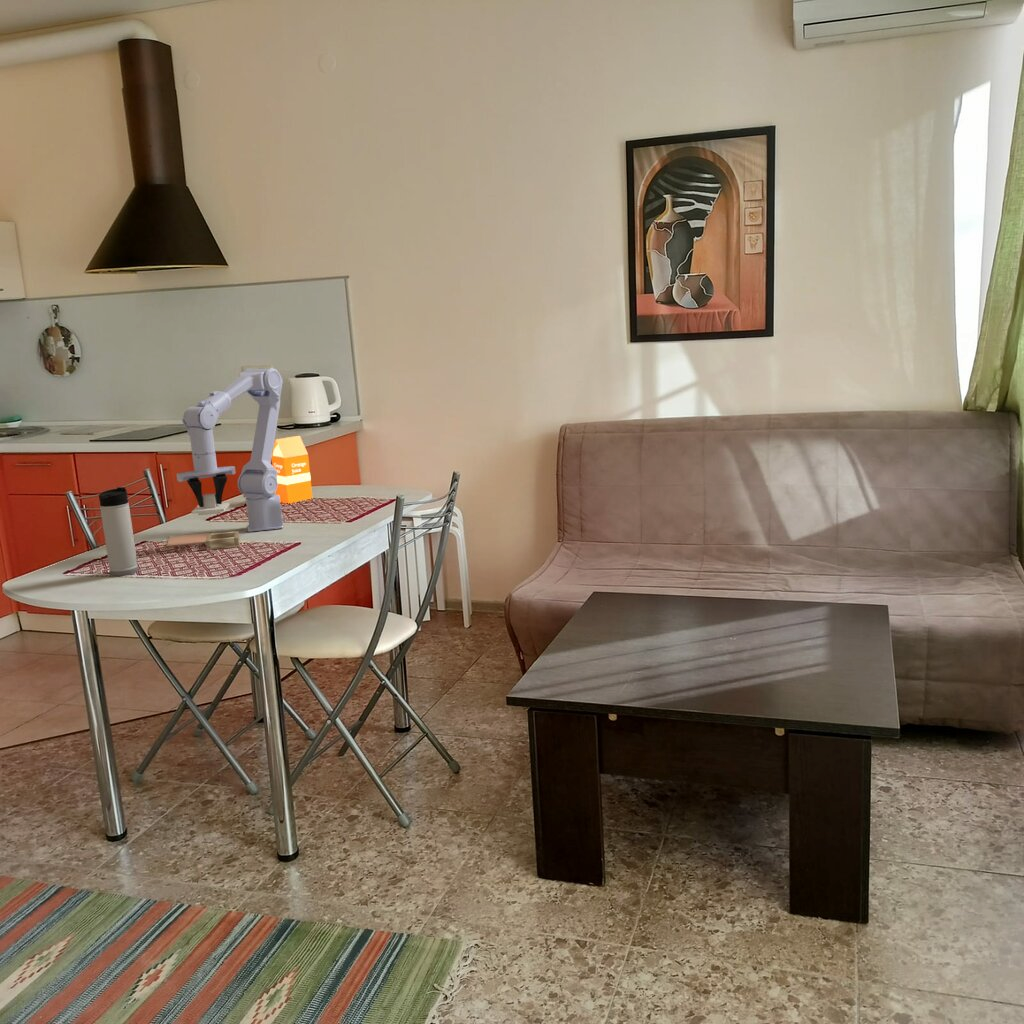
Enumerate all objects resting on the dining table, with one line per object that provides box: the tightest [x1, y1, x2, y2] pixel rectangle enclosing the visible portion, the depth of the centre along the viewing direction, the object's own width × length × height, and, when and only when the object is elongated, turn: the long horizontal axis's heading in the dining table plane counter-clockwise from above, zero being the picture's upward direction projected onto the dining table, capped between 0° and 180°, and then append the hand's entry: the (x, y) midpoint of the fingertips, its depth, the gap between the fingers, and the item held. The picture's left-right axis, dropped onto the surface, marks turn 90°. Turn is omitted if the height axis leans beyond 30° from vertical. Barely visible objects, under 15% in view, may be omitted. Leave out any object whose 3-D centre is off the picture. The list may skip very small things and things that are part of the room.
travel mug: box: [98, 486, 139, 577], centre depth 230 cm, size 6×7×20 cm
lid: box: [191, 492, 230, 516], centre depth 253 cm, size 8×8×5 cm
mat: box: [165, 532, 213, 548], centre depth 261 cm, size 11×11×1 cm
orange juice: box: [271, 435, 313, 504], centre depth 308 cm, size 8×9×20 cm
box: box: [205, 530, 240, 551], centre depth 254 cm, size 8×8×2 cm
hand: (210, 505), depth 254 cm, fingers closed on lid, 4 cm apart
